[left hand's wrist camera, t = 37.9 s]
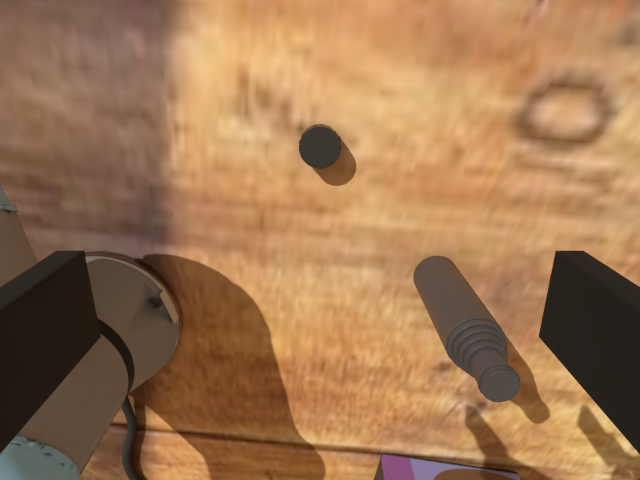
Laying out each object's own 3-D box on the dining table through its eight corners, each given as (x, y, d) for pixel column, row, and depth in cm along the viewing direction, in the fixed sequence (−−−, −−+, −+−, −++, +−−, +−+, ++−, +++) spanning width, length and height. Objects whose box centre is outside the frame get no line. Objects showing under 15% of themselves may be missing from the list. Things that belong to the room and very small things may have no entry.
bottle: (465, 269, 46) (550, 377, 29) (439, 302, 47) (505, 424, 30) (430, 247, 45) (496, 346, 28) (404, 282, 46) (452, 396, 29)
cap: (322, 114, 40) (322, 116, 38) (348, 146, 41) (349, 150, 39) (291, 142, 41) (289, 145, 39) (317, 172, 42) (317, 177, 40)
